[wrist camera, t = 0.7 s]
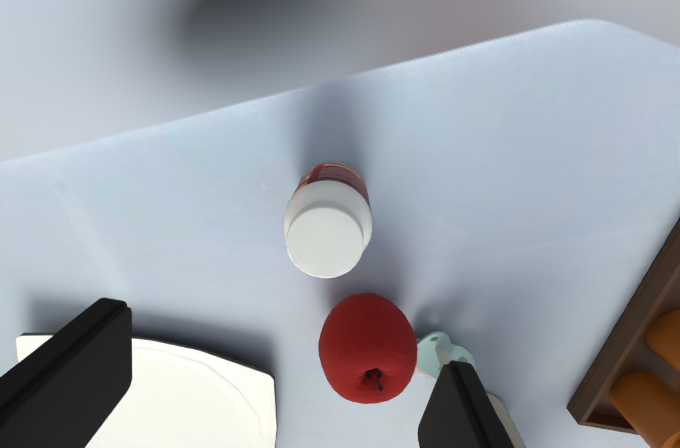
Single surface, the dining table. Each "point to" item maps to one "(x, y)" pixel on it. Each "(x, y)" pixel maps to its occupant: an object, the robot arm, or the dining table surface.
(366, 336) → the apple
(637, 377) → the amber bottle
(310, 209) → the pill bottle
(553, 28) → the dining table surface
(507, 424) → the travel mug
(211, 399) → the plate
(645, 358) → the tray
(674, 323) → the amber bottle middle
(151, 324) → the dining table surface
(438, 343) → the pacifier
